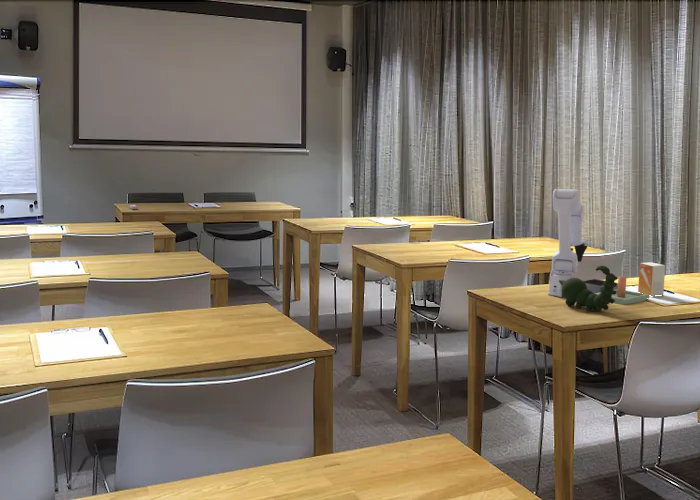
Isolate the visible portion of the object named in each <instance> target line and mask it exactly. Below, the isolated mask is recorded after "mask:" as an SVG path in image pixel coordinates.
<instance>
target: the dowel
mask: <svg viewBox="0 0 700 500" xmlns="http://www.w3.org/2000/svg"><path fill="white" fill-rule="evenodd" d="M617 283H618V293H617V297H625V292H626V291H627V290H626V288H627V276H620V275H619V276H617Z"/></svg>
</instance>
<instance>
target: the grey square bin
mask: <svg viewBox="0 0 700 500" xmlns="http://www.w3.org/2000/svg"><path fill="white" fill-rule="evenodd" d="M582 281H583V282H584V283H585V284H586V286H587V289H589V290H591V291H592V292H593V294H595V293H600V292H601V290H602V288H603V287H604V281H605V280H603V279H599V278H591V279H586V280H585V279H583V280H582ZM616 283H617V286H616V287H614V288H613V290H616V289H618V282H616Z"/></svg>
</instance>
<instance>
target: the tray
mask: <svg viewBox="0 0 700 500" xmlns="http://www.w3.org/2000/svg"><path fill="white" fill-rule="evenodd" d="M615 291H616V294H615V295H614V294H613V295H612V299H614V300H615V302H614V303H613V304H618V305H623V306H624V305H630V304H635V303H639V302H645V301H647V300H646V299H647V298H650V297H649V295H647V294H642V293H638V291H637V292H636V291H630V290H626V292H625V297H617V293H618V289H616V290H615ZM600 293H601V292H600ZM600 293H595V294H597V295H599V294H600Z"/></svg>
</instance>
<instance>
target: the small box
mask: <svg viewBox="0 0 700 500" xmlns="http://www.w3.org/2000/svg"><path fill="white" fill-rule="evenodd" d="M638 274H639V275H638V286H637V287H638V289H637V293H638V292H640V293H643V294H647V295H651V296H655V295H663V296H664V293H665V292H664V291H665V289H664V288H665V277H666V276H665V274H666V265H665V264H660V263H656V262H651V261H650V262H649V261H647V262H640V263H639V273H638Z"/></svg>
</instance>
